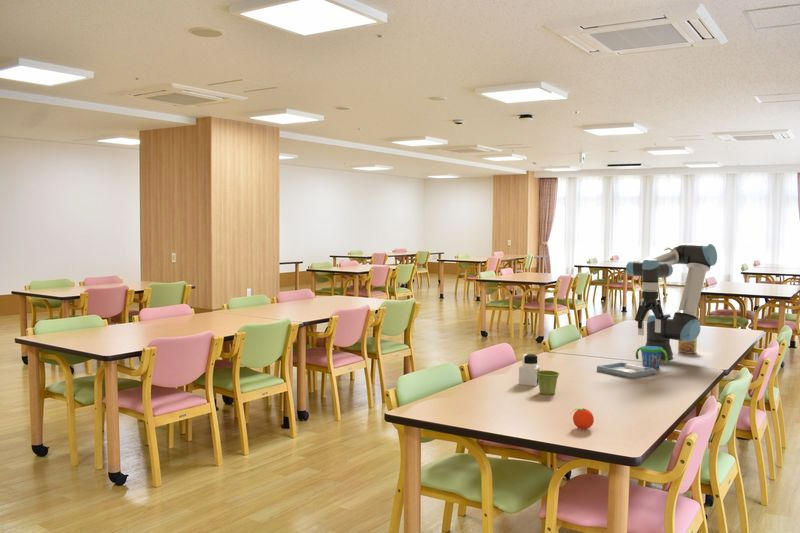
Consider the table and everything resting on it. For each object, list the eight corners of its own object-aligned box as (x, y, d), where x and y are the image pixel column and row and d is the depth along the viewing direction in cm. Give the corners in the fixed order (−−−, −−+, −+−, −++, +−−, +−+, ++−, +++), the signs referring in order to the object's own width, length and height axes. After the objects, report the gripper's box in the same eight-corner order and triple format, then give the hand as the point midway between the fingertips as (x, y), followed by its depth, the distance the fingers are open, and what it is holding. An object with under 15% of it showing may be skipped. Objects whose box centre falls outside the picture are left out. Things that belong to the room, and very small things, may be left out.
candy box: (677, 352, 382) (678, 324, 381) (680, 351, 385) (680, 324, 385) (694, 353, 377) (695, 326, 376) (696, 352, 380) (697, 325, 379)
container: (540, 382, 303) (540, 353, 302) (536, 386, 296) (536, 356, 296) (523, 381, 306) (523, 352, 306) (518, 384, 299) (518, 355, 299)
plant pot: (560, 391, 287) (560, 371, 286) (557, 396, 278) (558, 375, 277) (537, 389, 290) (537, 369, 289) (534, 394, 281) (534, 374, 280)
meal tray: (621, 367, 339) (621, 361, 339) (656, 374, 322) (656, 368, 322) (596, 370, 329) (596, 365, 329) (631, 378, 313) (631, 373, 312)
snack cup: (631, 366, 340) (631, 346, 340) (642, 364, 347) (643, 344, 346) (660, 371, 328) (660, 350, 328) (671, 369, 335) (672, 348, 334)
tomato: (568, 430, 231) (568, 409, 231) (570, 424, 238) (571, 404, 237) (592, 432, 228) (593, 412, 228) (594, 427, 235) (594, 406, 235)
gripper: (658, 288, 345) (657, 330, 346) (627, 291, 331) (627, 335, 332) (671, 289, 339) (671, 332, 340) (641, 292, 325) (640, 337, 326)
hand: (649, 333), depth 336 cm, fingers open, 13 cm apart
